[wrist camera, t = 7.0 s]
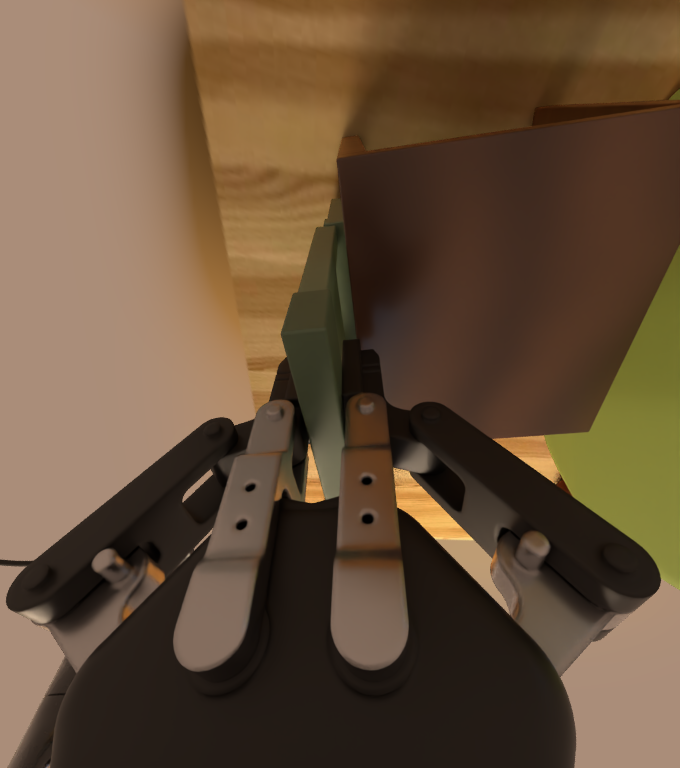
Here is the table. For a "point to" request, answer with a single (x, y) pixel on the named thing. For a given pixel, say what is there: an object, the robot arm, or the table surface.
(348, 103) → the table surface
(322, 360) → the chair
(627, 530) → the green and pink pieces
